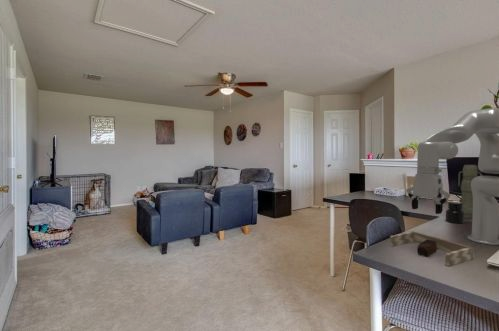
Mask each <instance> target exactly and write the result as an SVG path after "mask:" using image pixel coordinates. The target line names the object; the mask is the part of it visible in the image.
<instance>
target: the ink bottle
mask: <svg viewBox="0 0 499 331" xmlns="http://www.w3.org/2000/svg"><path fill="white" fill-rule="evenodd" d="M447 208H448V209H446V210H445V221H446V222H447V223H452V224H464V223H465V218H464V212H463V211H462V203H461V202H459V201H447Z"/></svg>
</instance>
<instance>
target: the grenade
mask: <svg viewBox="0 0 499 331" xmlns="http://www.w3.org/2000/svg"><path fill="white" fill-rule="evenodd" d="M457 174H458V175H457V176H458V180H457V181H458V182H457V186H458V187H460V191H461V196H460V197H461V199H460V200H461V202H460V203H462V211H463V212H464V219H471V220H472V215H473V194H472V189H471V181H472V180H473V179H474V178H475V177H478V176H483V173H482V172H481V171H479V168H478V164H477V165H476V164H464V165H463V168H462V170H461V171H459V172H458V173H457ZM461 174H462V179H461ZM478 174H479V175H478Z"/></svg>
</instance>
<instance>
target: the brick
mask: <svg viewBox="0 0 499 331" xmlns="http://www.w3.org/2000/svg"><path fill="white" fill-rule="evenodd" d="M436 252H437V243H436V241H432V240H425V241H423V242H422V243H418V244H417V254H418V256H423V257H425V258H428V257H430V256H432V255H434V254H435V253H436Z"/></svg>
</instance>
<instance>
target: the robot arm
mask: <svg viewBox="0 0 499 331" xmlns="http://www.w3.org/2000/svg"><path fill="white" fill-rule="evenodd" d="M474 134H475V136H476V138H477V139H478V140H479V143H480V149H479V154H478V161H477V162H478V163H477V169H478V171H479V172H480V173H485V174H493V175H495V174H496V175H499V108H498V107H492V108H491V107H490V108H484V109H477V110H475V109H474V110H471V111H468V112H467V113H465V114H464V115H463V116H462V117H460V118H459V119H458V120H457V121H456V122H455V123H453V124H452V126H449V127H447V128H444V129H442V130H439V131H438V132H434V134H432V135H430V136H428V137H427V138H426V139H425V140H424V141H422V142H419V143H418V145H417V161H416V163H417V164H416V166H417V167H416V174H415V175H414V180H413V184H412V186H411V187H409V188H406V190H405V191H406V193H407V195H408V197H409V198H410V200H411V210H418V209H419V198H424V199H430V200H432V199H433V200H434V201H435V203H436V204H435V208H434V209H435V210H434V211H435V214H436V215H439V214H442V212H443V208H444V204H445V203H447V202H449V199H450V198H451V194H450V193H448V192H447V191H445V190H444V188H443V180H442V175H441V174H440V173H442V171H443V170H442V169H440V164H439V163H440V160H451V159H453V158H456V156H457V155H458V154H459V148H458V145H457V144H459V143H463V142H466V141H467V140H469V139H471V138H472V136H473V135H474ZM493 175H482V176H480V175H478V177H475V178H474V179H473V180H472V181H471V189H472V194H473V215H472V219H471V220H472V221H471V223H472V224H471V234H469V235H467V239H468V240H469V241H472V242H475V243H479V244H484V245H491V246H499V202H498V200H497V199H496V198H499V176H493ZM495 197H496V198H495Z"/></svg>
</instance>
